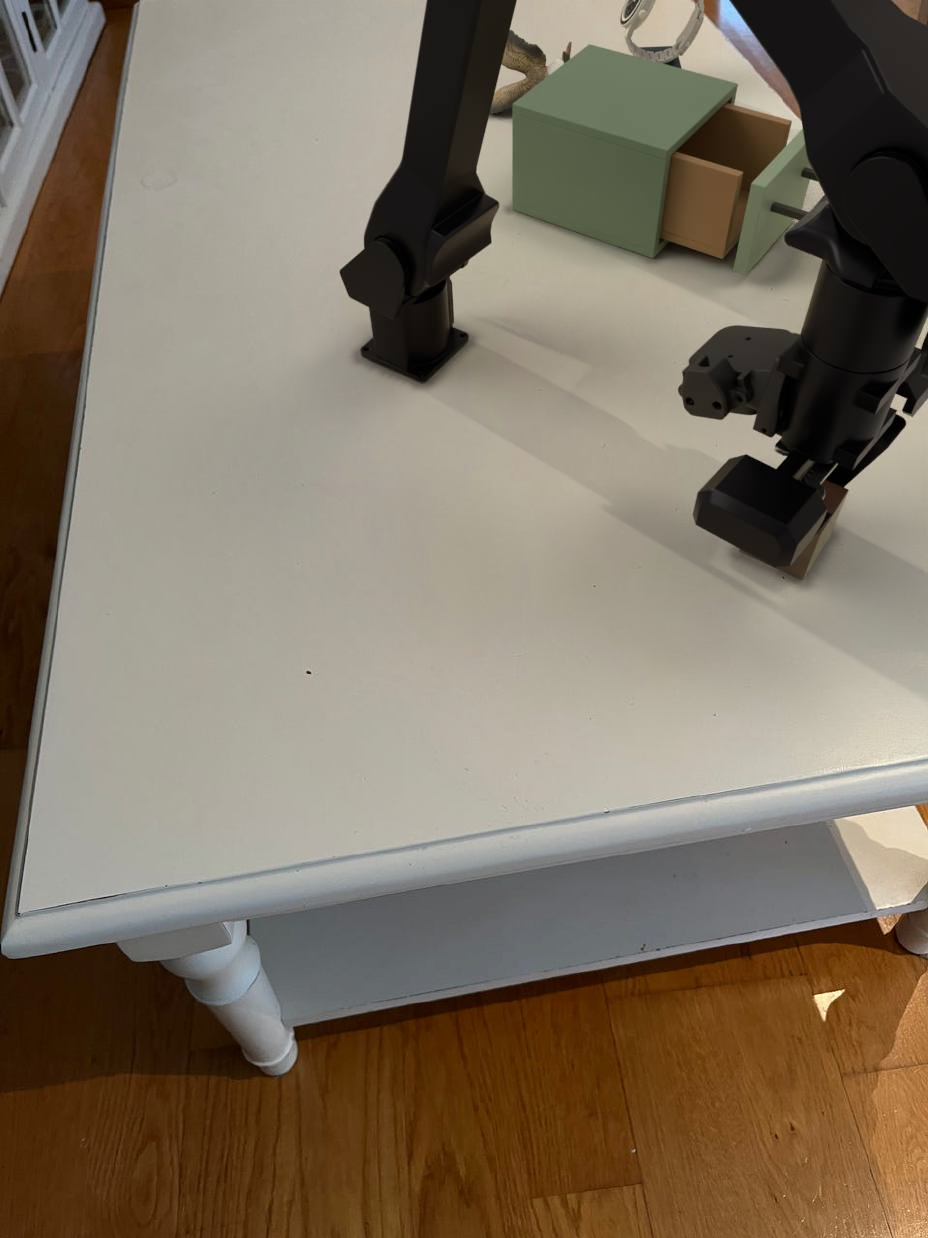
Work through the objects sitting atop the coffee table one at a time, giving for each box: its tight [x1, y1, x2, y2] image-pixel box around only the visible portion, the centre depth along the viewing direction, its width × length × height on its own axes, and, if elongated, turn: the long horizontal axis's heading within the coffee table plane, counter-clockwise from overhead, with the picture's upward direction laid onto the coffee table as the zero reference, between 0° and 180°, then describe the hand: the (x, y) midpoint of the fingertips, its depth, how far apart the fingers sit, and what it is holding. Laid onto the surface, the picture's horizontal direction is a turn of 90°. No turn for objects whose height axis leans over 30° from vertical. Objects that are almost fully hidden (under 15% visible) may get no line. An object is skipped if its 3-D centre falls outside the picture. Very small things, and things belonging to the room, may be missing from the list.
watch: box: [619, 0, 705, 69], centre depth 96 cm, size 6×8×11 cm
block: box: [738, 473, 850, 580], centre depth 63 cm, size 4×4×4 cm
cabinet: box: [511, 43, 739, 259], centre depth 85 cm, size 15×13×10 cm
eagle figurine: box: [490, 29, 573, 114], centre depth 98 cm, size 8×7×9 cm
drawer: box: [660, 103, 827, 277], centre depth 81 cm, size 18×11×8 cm, turn 55°
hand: (788, 533), depth 64 cm, fingers open, 6 cm apart
